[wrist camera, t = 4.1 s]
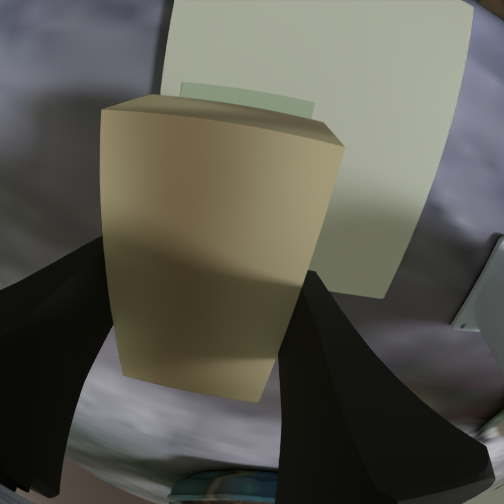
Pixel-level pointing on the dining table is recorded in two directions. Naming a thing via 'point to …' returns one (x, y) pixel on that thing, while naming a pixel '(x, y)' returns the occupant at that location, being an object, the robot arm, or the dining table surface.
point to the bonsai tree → (226, 488)
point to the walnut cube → (494, 6)
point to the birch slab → (209, 235)
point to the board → (339, 104)
